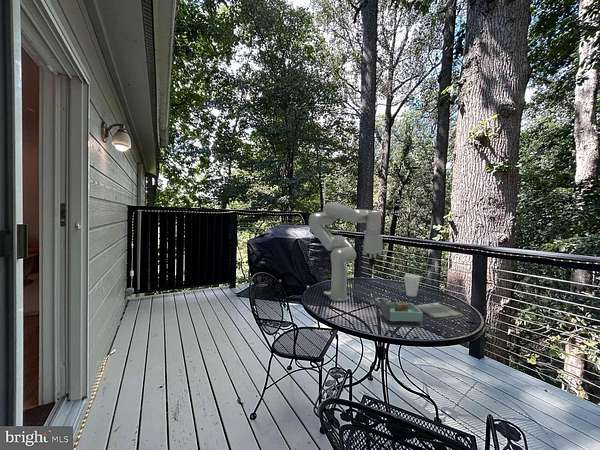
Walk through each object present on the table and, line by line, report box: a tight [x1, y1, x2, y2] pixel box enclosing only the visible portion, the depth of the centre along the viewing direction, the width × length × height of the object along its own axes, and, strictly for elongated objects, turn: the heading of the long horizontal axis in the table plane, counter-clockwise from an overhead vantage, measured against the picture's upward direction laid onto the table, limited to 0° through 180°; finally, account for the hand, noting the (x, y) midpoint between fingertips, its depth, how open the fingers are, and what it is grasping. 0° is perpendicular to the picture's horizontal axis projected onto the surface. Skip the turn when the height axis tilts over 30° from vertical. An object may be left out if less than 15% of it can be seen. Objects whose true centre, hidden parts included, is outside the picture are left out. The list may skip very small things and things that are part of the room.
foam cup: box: [404, 273, 421, 297], centre depth 197 cm, size 10×9×13 cm
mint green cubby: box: [379, 296, 424, 325], centre depth 153 cm, size 17×14×10 cm
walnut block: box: [394, 301, 408, 312], centre depth 153 cm, size 5×5×5 cm
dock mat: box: [378, 313, 426, 328], centre depth 153 cm, size 18×16×1 cm
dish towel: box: [415, 301, 464, 320], centre depth 167 cm, size 19×18×3 cm
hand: (371, 265), depth 167 cm, fingers closed
